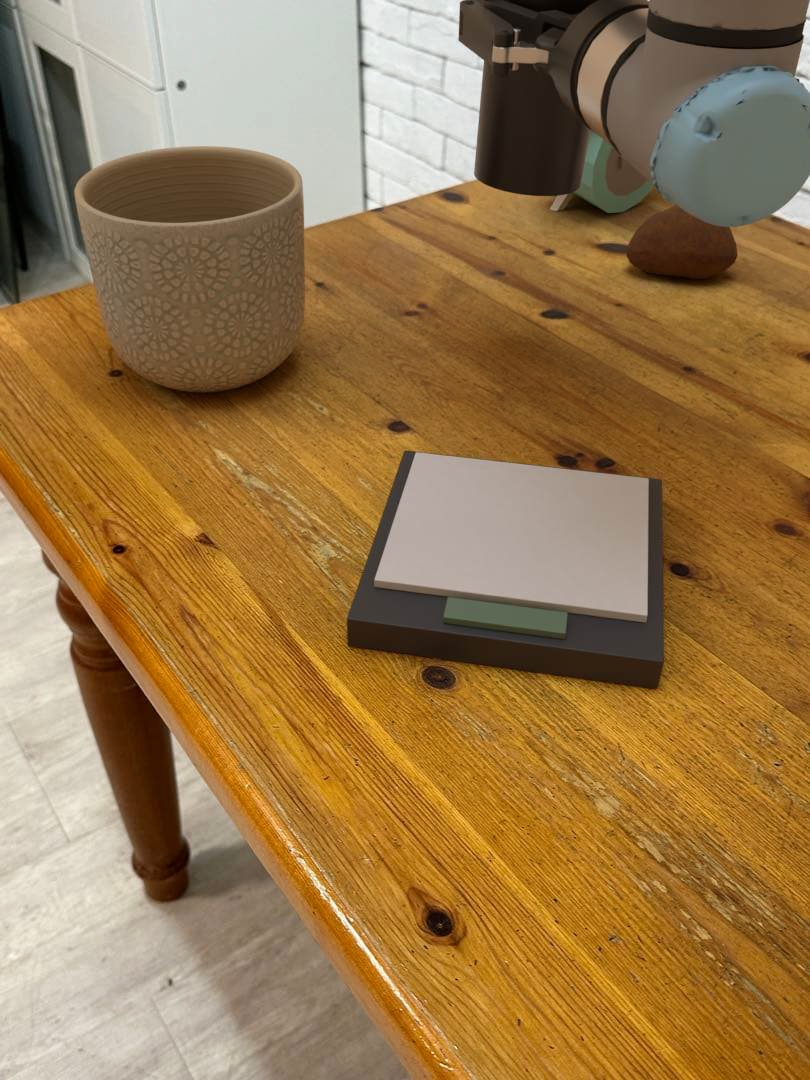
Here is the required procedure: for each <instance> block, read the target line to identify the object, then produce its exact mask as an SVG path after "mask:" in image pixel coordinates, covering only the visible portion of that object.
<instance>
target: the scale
mask: <svg viewBox="0 0 810 1080" xmlns="http://www.w3.org/2000/svg"><path fill="white" fill-rule="evenodd" d="M663 522H664V521H663V478H655V477H654V478H653V477H646V476H638V475H637V476H636V475H627V474H619V473H611V472H610V473H609V472H601V471H600V472H599V471H593V470H592V471H591V470H585V469H584V470H583V469H573V468H566V467H565V468H564V467H558V466H549V465H541V464H540V465H539V464H530V463H521V462H511V461H504V460H495V459H494V460H493V459H487V458H486V459H485V458H477V457H468V456H460V455H449V454H441V453H432V452H423V451H413V450H404V451H403V453H402V456H401V459H400V462H399V465H398V468H397V470H396V474H395V477H394V480H393V482H392V486H391V489H390V491H389V494H388V497H387V500H386V502H385V506H384V509H383V511H382V515H381V518H380V520H379V523H378V525H377V526H378V527H377V529H376V532H375V535H374V538H373V541H372V544H371V547H370V549H369V553H368V555H367V559H366V562H365V565H364V568H363V570H362V572H361V573H362V574H361V576H360V579H359V582H358V585H357V588H356V591H355V593H354V597H353V599H352V602H351V605H350V608H349V611H348V613H347V617H346V633H347V634H346V635H347V646H348V647H355V648H363V649H370V650H377V651H383V652H390V653H391V652H392V653H398V654H404V655H412V656H420V657H427V658H435V659H440V660H449V661H455V662H460V663H461V662H462V663H470V664H476V665H484V666H490V667H491V666H492V667H498V668H505V669H511V670H519V671H526V672H534V673H541V674H547V675H555V676H562V677H568V678H569V677H570V678H576V679H583V680H592V681H597V682H603V683H611V684H620V685H627V686H633V687H641V688H649V689H654V690H655V689H657V690H658V688H659V685H660V681H661V676H662V672H663V668H664V664H665V663H664V662H665V645H664V643H665V641H664V640H665V638H664V637H665V634H664V628H665V627H664V533H663V532H664V531H663V530H664V527H663V526H664V525H663Z"/></svg>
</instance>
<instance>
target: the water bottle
mask: <svg viewBox="0 0 810 1080" xmlns="http://www.w3.org/2000/svg"><path fill="white" fill-rule="evenodd" d="M504 1H507V2H509V3H512V4H515V5H518V6H521V7H524V8H527V9H530V10H533V11H535V12H538V13H539V12H543V11H551V10H558V11H561V12H564V13H567V14H570V15H573V14H580V13H581V12H582V11H583V10H584V9H585V8H587V7H588V6H590V5H591V4H593V3H594V2H596V1H598V0H504ZM482 66H483V68H482V77H481V78H482V79H481V90H480V101H479V111H478V112H479V113H478V123H477V136H476V147H475V157H474V168H473V169H474V170H473V175H474V177H475V179H476V180H478V182H480V183H481V184H484V185H485V186H488V187H490V188H493V189H496V190H499V191H501V192H506V193H509V194H510V193H511V194H516V195H523V196H530V197H531V196H532V197H557V196H558V195H565V194H569V193H572V192H574V191H576V190H578V189H579V187H580V183H581V178H582V173H583V169H584V164H585V159H586V154H587V149H588V144H589V139H590V135H591V130H590V129H589V128H588V127H587V126H585V125H584V124H583V123H582V122H581V121H580V120H579V119H577V118H576V117H575V116H574V115H573V114H572V113H571V112H570V111H569V110H568V109H567V108H566V107H565V105H564V104H563V102H562V100H561V98H560V96H559V94H558V91H557V89H556V86H555V83H554V81H553V78H552V77H550V76H547V75H544V74H541V73H539V72H537V71H536V69H535V68H534V65H533V64H529V63H518V70H516V71H512V70H511V71H510V75H507V76H504V77H498V76H497V75H493V74H492V73H491V70H492V66H491V65H489V64H488V63H487V62H485V61H484V60H483V65H482Z"/></svg>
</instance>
